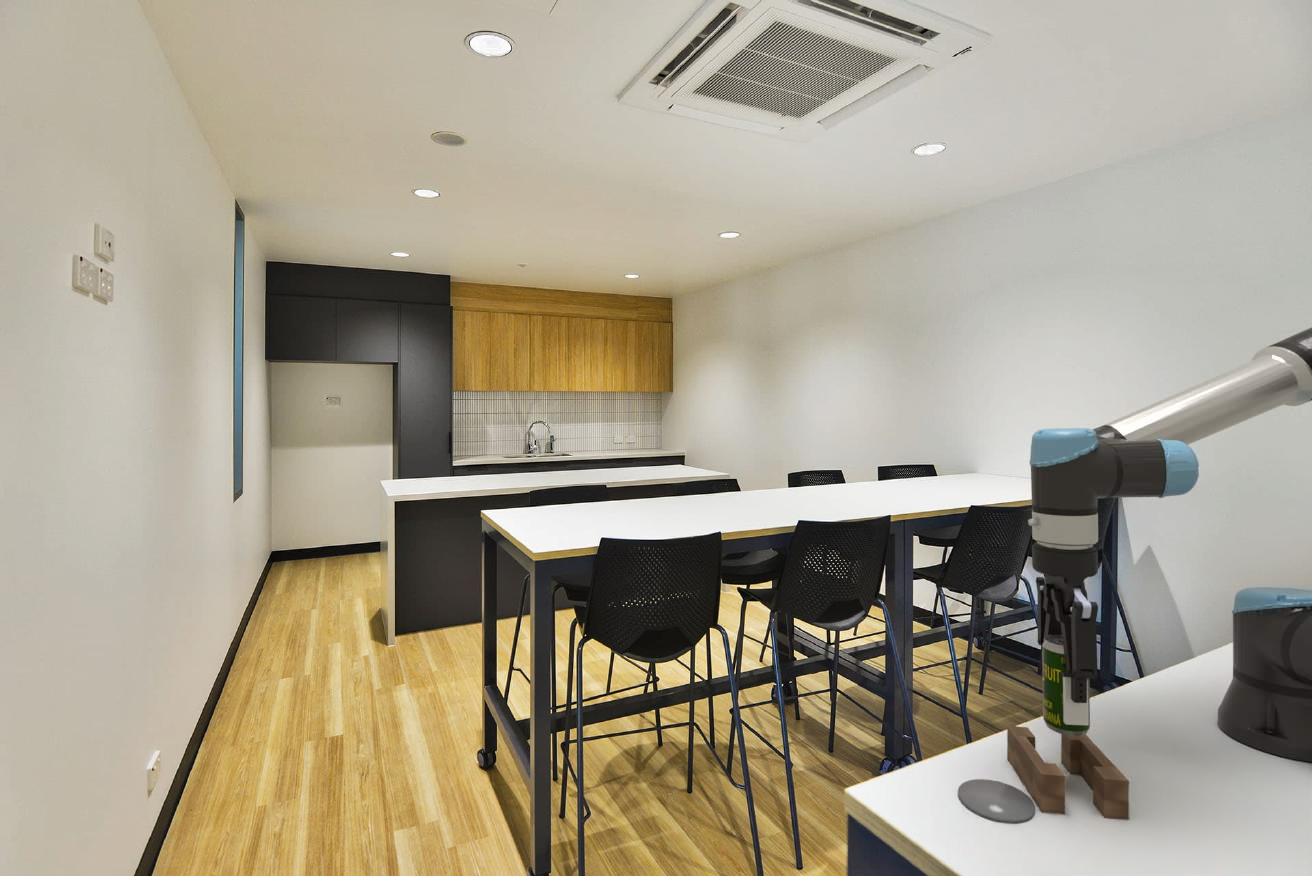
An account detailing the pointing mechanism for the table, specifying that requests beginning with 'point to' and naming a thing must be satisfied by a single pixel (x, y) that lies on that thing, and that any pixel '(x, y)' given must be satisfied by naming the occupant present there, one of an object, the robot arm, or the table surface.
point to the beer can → (1057, 688)
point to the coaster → (996, 801)
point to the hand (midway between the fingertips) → (1066, 712)
